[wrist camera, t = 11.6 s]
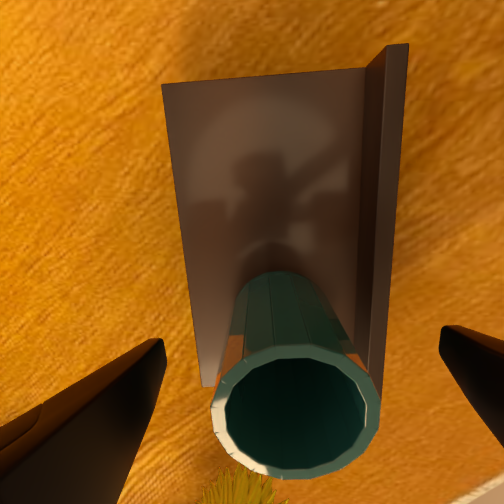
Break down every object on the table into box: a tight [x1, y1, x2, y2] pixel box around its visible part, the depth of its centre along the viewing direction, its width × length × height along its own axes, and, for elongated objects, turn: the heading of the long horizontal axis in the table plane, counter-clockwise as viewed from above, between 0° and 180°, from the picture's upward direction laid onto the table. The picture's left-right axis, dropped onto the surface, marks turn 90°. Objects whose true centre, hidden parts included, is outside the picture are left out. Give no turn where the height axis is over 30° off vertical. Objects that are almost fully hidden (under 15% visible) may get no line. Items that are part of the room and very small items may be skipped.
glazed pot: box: [210, 271, 381, 480], centre depth 14 cm, size 7×7×8 cm
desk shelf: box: [161, 43, 409, 410], centre depth 18 cm, size 12×20×6 cm, turn 4°
